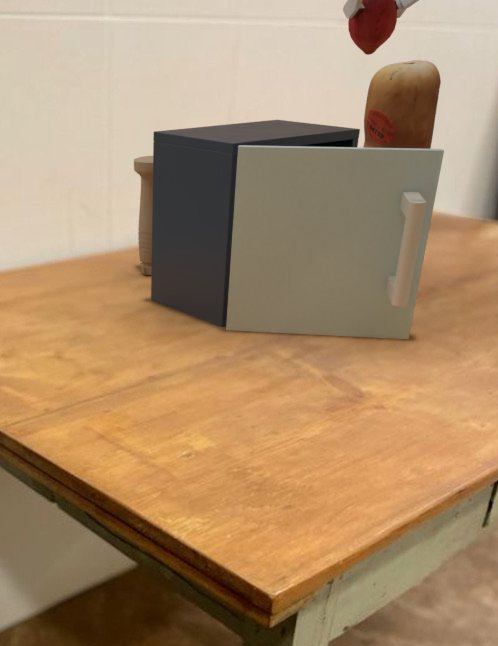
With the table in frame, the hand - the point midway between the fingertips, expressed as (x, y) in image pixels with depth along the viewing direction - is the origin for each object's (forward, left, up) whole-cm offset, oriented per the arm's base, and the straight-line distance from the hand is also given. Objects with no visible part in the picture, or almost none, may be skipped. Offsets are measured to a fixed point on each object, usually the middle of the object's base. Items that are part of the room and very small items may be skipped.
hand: (370, 14), depth 101 cm
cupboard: (+15, +18, -31) cm, 39 cm away
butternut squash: (-13, -30, -31) cm, 45 cm away
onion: (0, 0, -5) cm, 5 cm away
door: (+8, +34, -31) cm, 47 cm away
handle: (+27, +4, -31) cm, 41 cm away
